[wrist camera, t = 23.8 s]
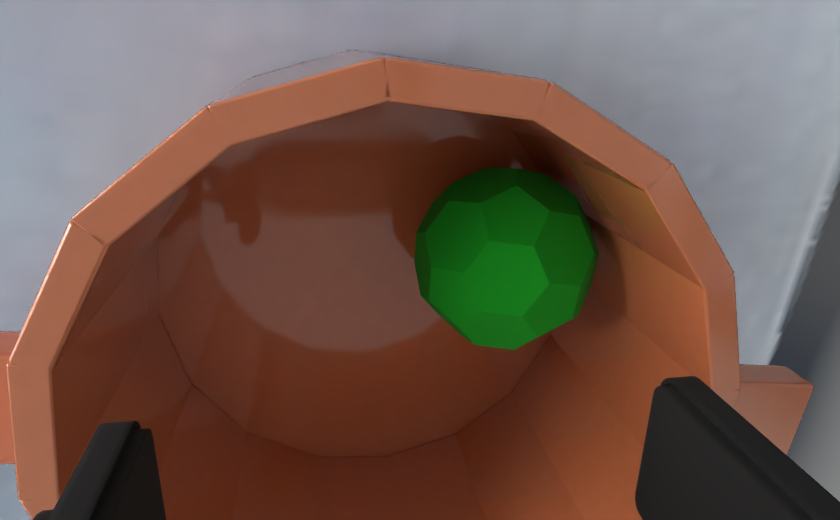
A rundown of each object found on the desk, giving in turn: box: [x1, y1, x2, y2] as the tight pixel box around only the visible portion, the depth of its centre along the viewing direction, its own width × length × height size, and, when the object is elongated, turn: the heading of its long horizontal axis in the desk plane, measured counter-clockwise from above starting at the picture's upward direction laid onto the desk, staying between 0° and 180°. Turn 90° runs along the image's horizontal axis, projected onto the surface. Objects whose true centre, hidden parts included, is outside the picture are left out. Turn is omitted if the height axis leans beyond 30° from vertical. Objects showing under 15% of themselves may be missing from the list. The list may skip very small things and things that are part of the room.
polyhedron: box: [414, 168, 599, 350], centre depth 17 cm, size 5×5×5 cm
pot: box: [0, 50, 814, 520], centre depth 16 cm, size 14×20×8 cm
